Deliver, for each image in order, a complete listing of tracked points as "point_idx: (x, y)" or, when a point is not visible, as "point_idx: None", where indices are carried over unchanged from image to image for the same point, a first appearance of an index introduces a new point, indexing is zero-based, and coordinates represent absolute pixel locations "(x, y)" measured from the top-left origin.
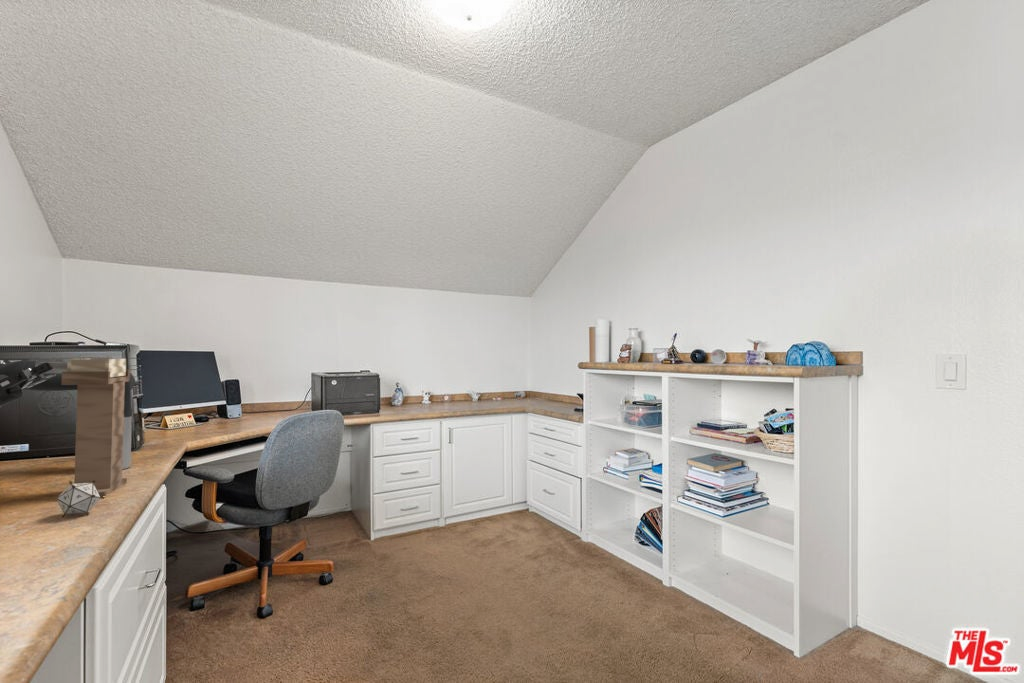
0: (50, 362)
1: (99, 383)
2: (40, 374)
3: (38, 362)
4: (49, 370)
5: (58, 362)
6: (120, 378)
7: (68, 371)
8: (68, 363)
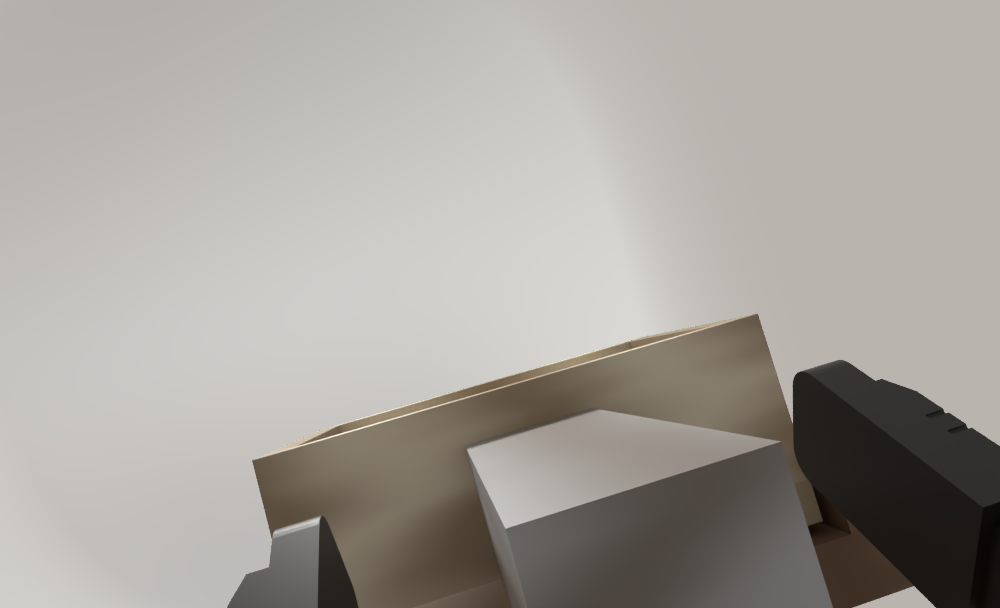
0: (672, 423)
1: None
2: (941, 592)
3: (750, 438)
4: (838, 495)
5: (639, 416)
6: None
7: (792, 448)
8: (767, 360)
